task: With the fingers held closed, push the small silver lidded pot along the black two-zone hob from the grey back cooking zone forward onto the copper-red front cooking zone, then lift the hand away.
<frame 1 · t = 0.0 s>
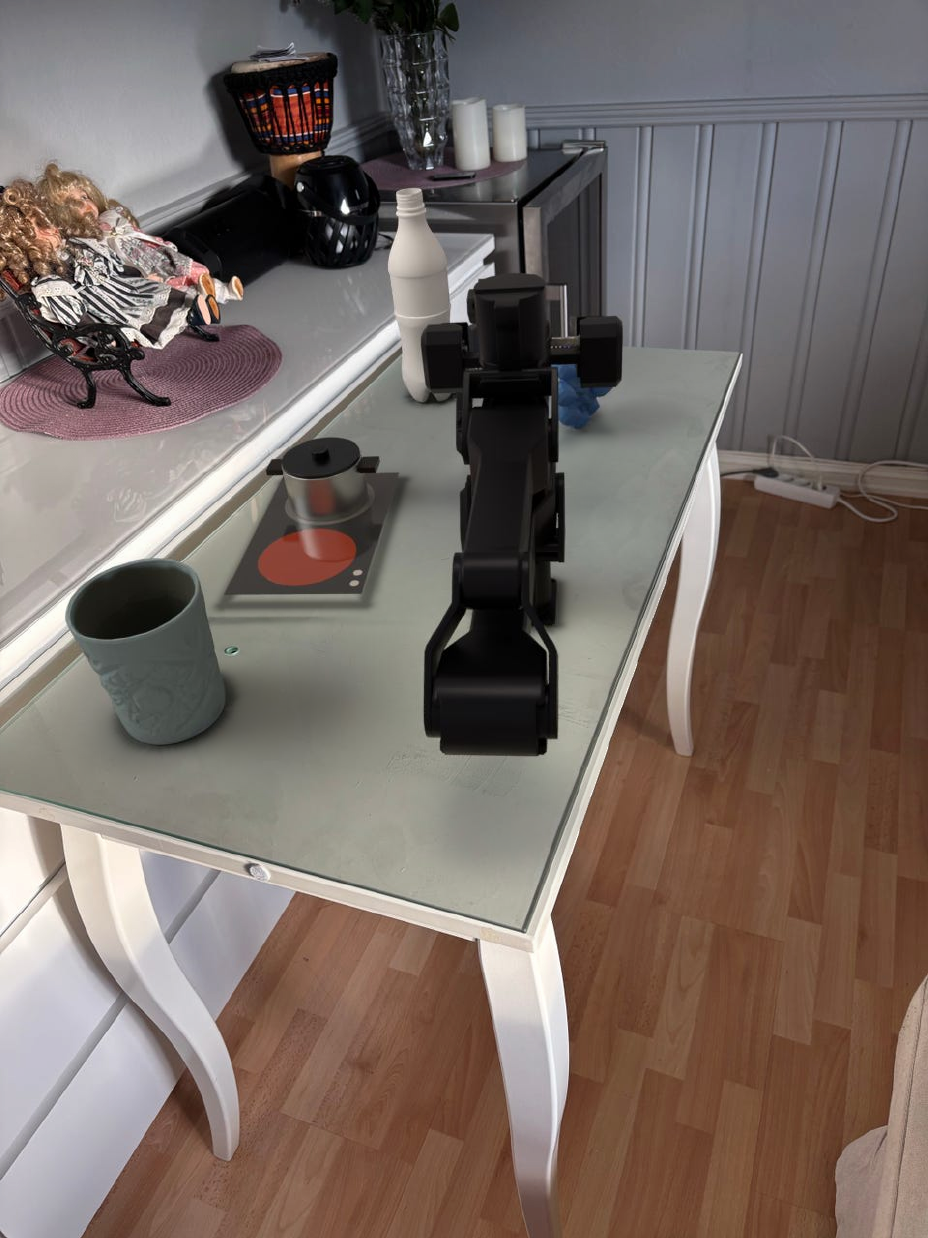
hand: (526, 322, 92), 17 cm above the table, tool horizontal, fingers open, 9 cm apart
grapes: (586, 430, 109), on the table
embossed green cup: (178, 711, 76), on the table
pot: (329, 500, 98), point 1 cm above the table, touching hob
hob: (320, 537, 95), on the table
water bottle: (432, 395, 120), on the table
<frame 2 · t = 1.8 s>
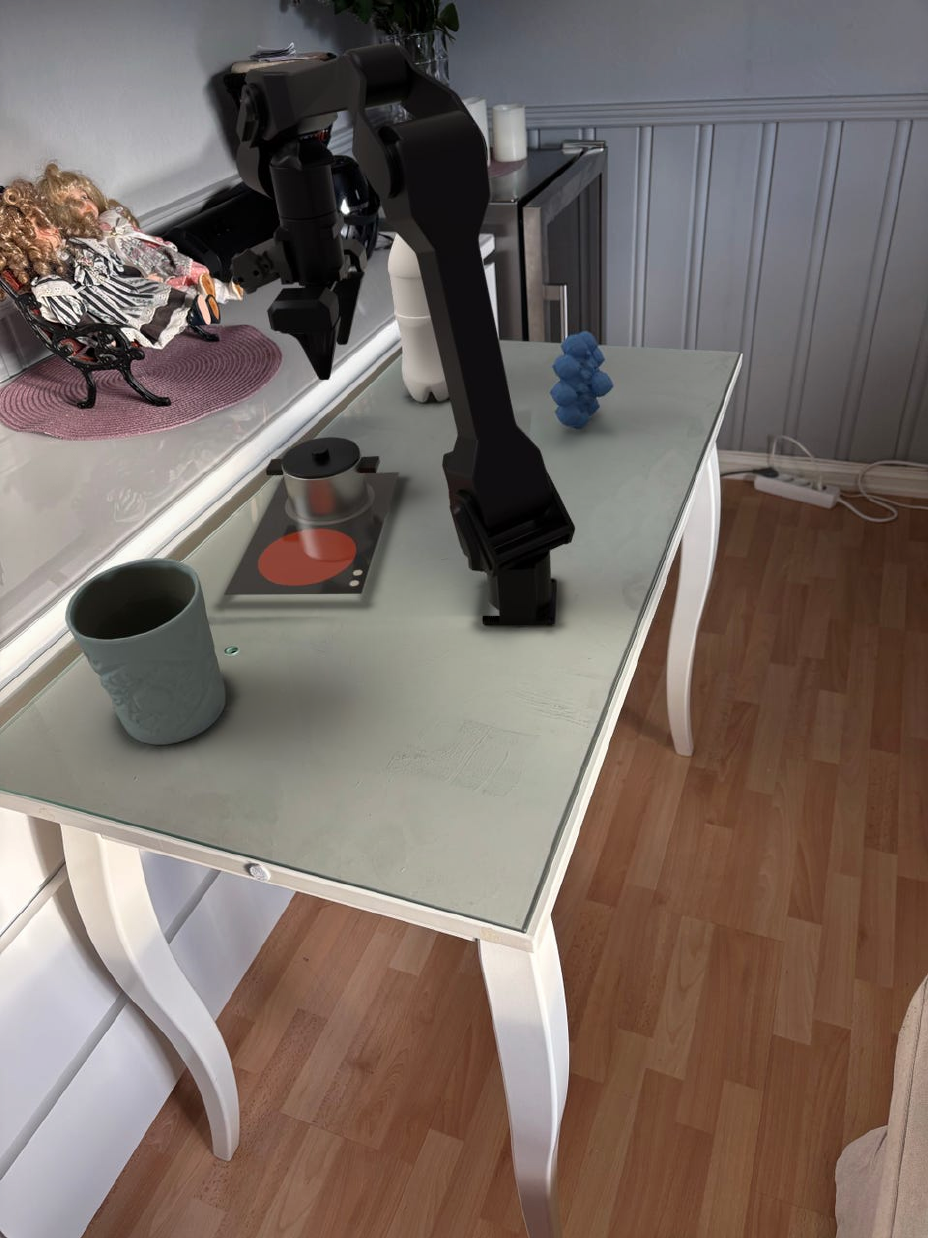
hand: (334, 361, 99), 13 cm above the table, tool pointing down, fingers open, 9 cm apart
nothing on the table moved.
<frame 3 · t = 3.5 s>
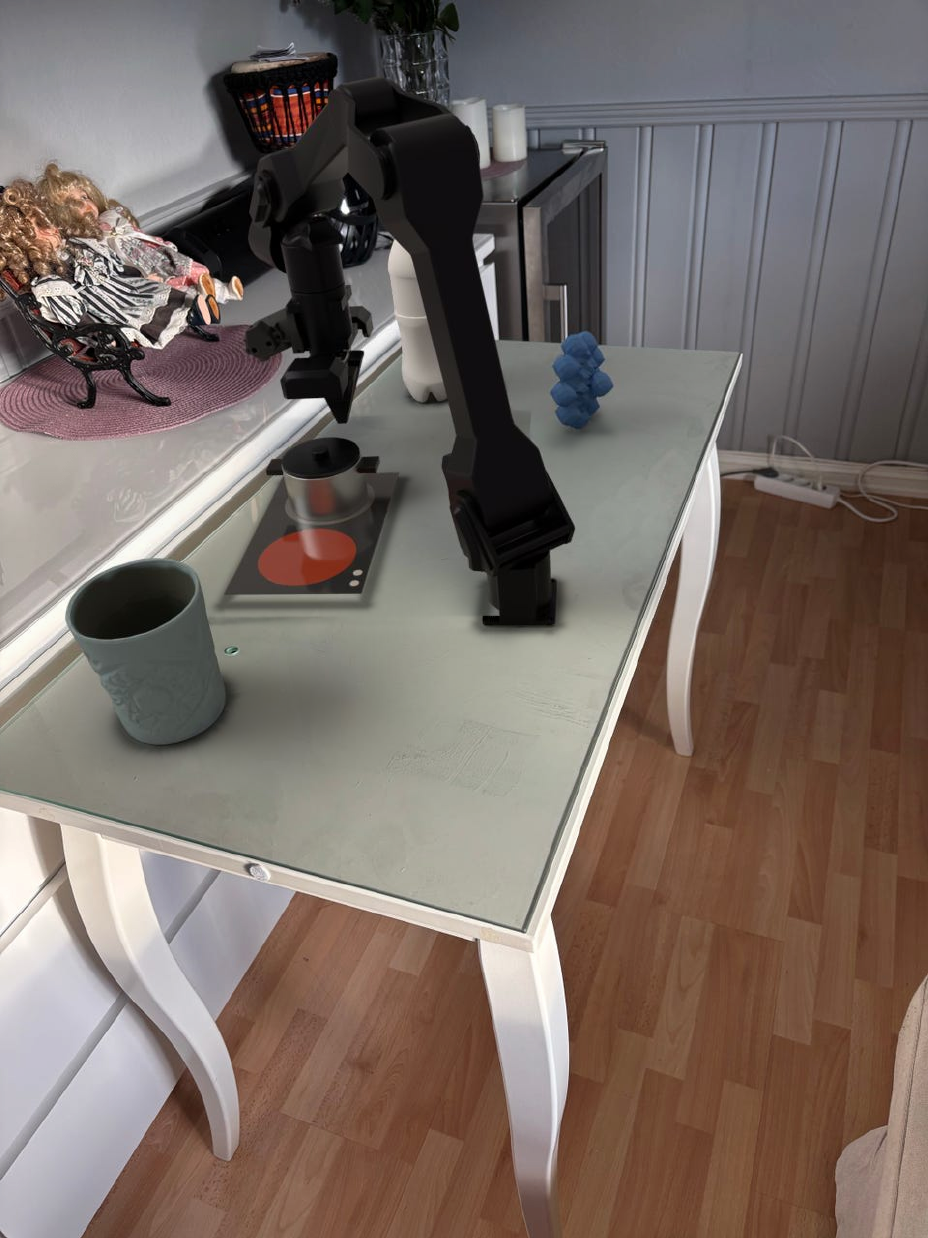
hand: (343, 422, 104), 5 cm above the table, tool pointing down, fingers closed
nothing on the table moved.
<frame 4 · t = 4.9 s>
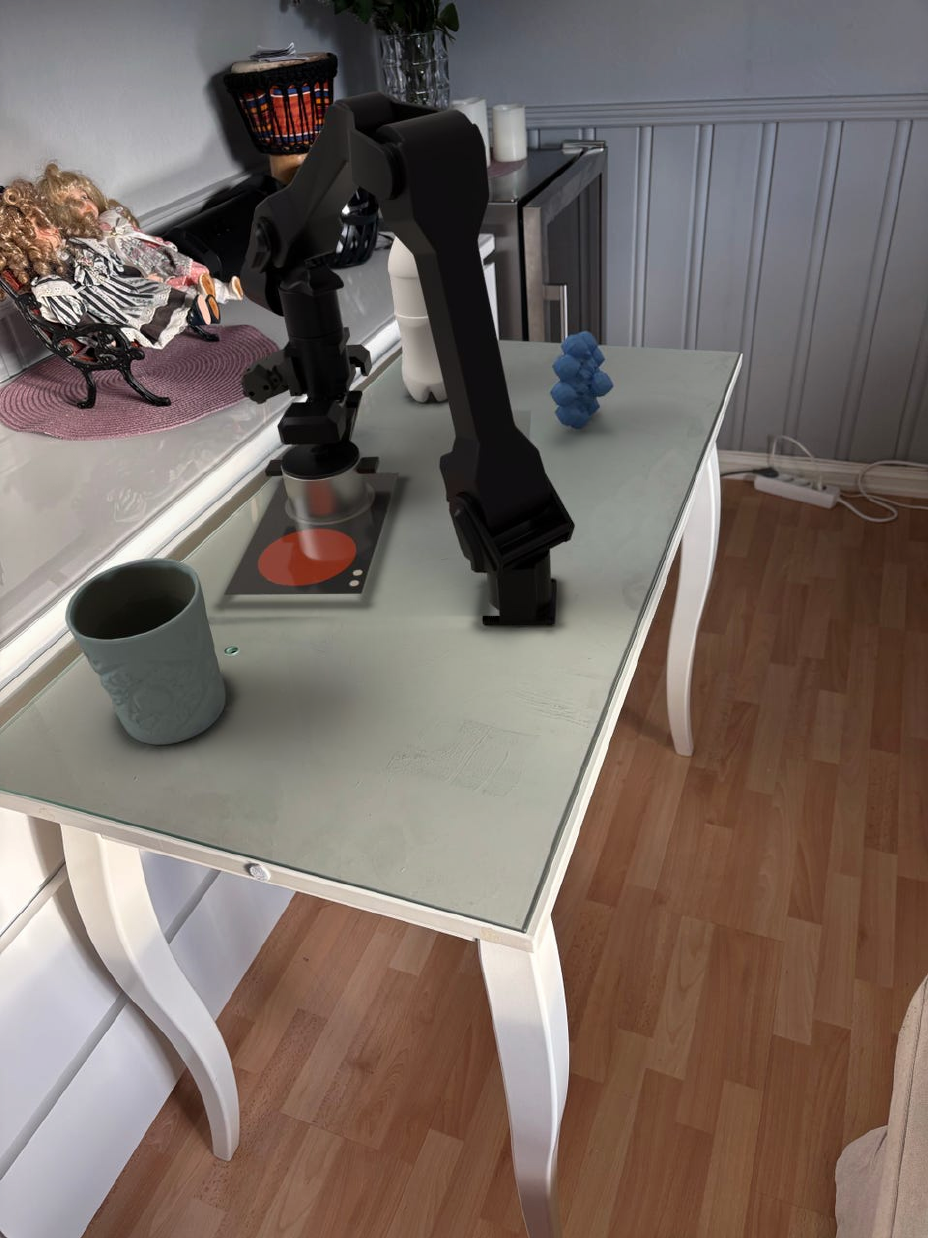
hand: (341, 462, 103), 2 cm above the table, tool pointing down, fingers closed
pot: (329, 500, 98), point 1 cm above the table, touching gripper, hob
everything else where it was.
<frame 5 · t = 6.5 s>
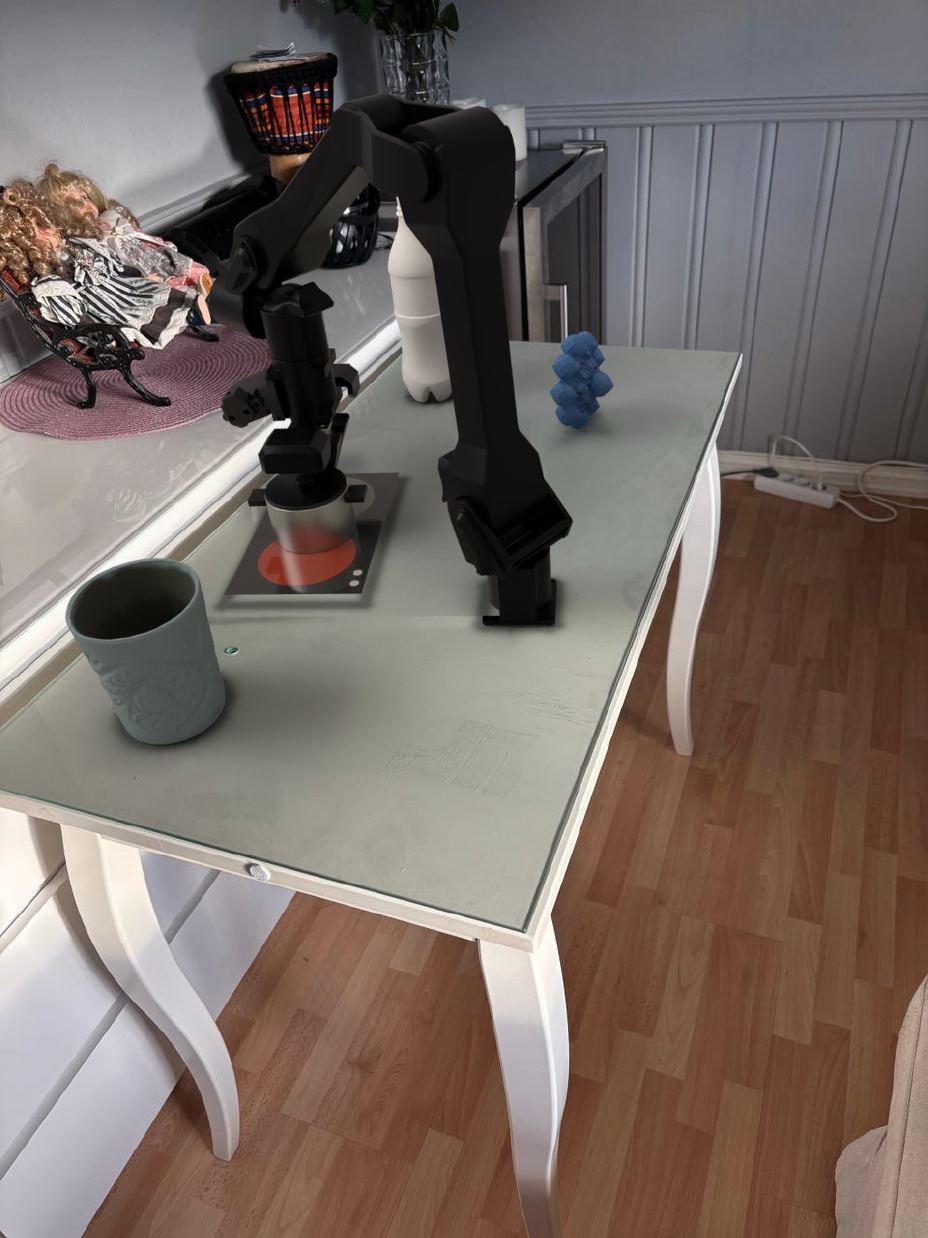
hand: (326, 487, 98), 2 cm above the table, tool pointing down, fingers closed
pot: (315, 530, 94), point 1 cm above the table, touching gripper, hob
everything else where it was.
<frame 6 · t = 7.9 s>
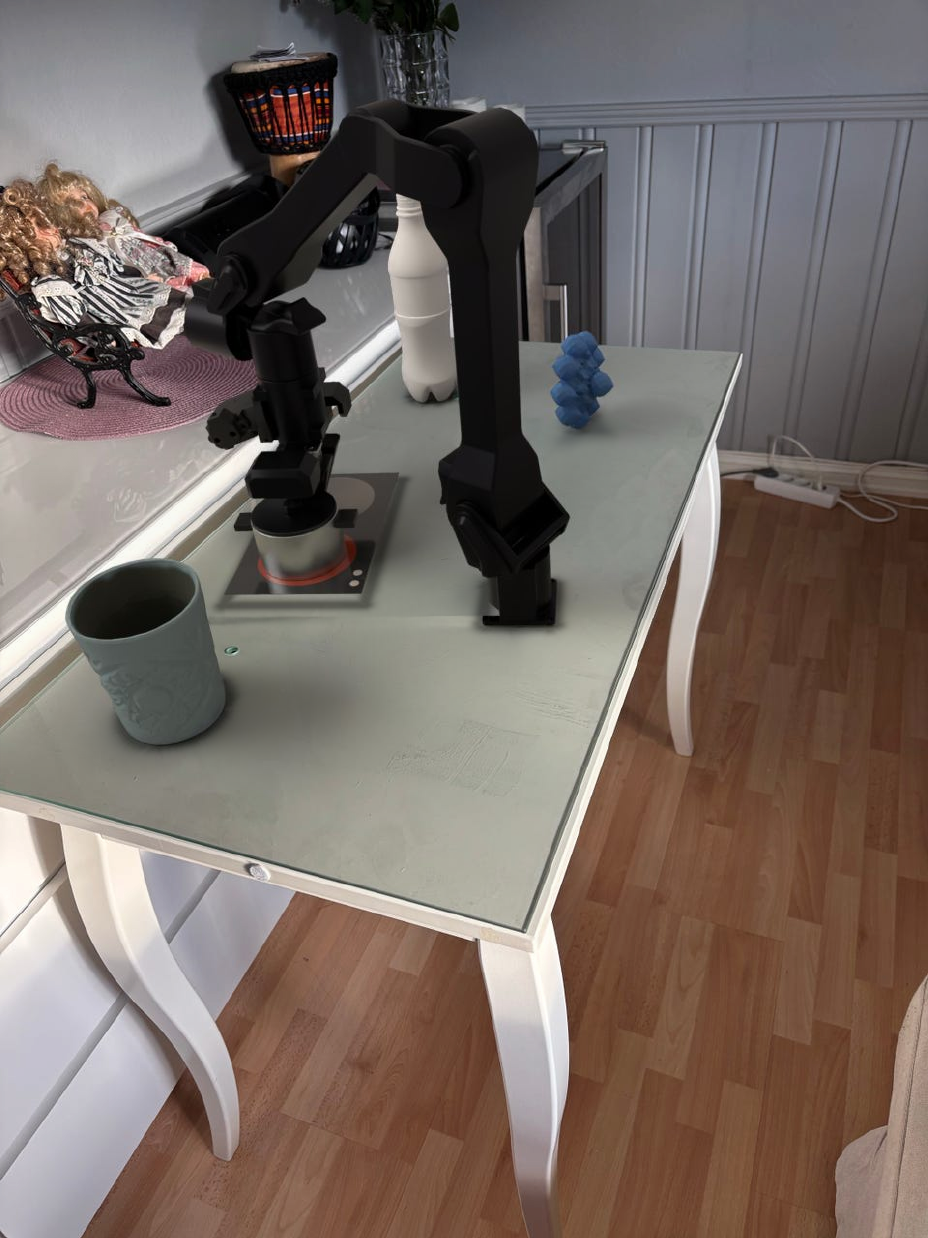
hand: (317, 509, 95), 2 cm above the table, tool pointing down, fingers closed
pot: (304, 555, 90), point 1 cm above the table, touching gripper, hob
everything else where it was.
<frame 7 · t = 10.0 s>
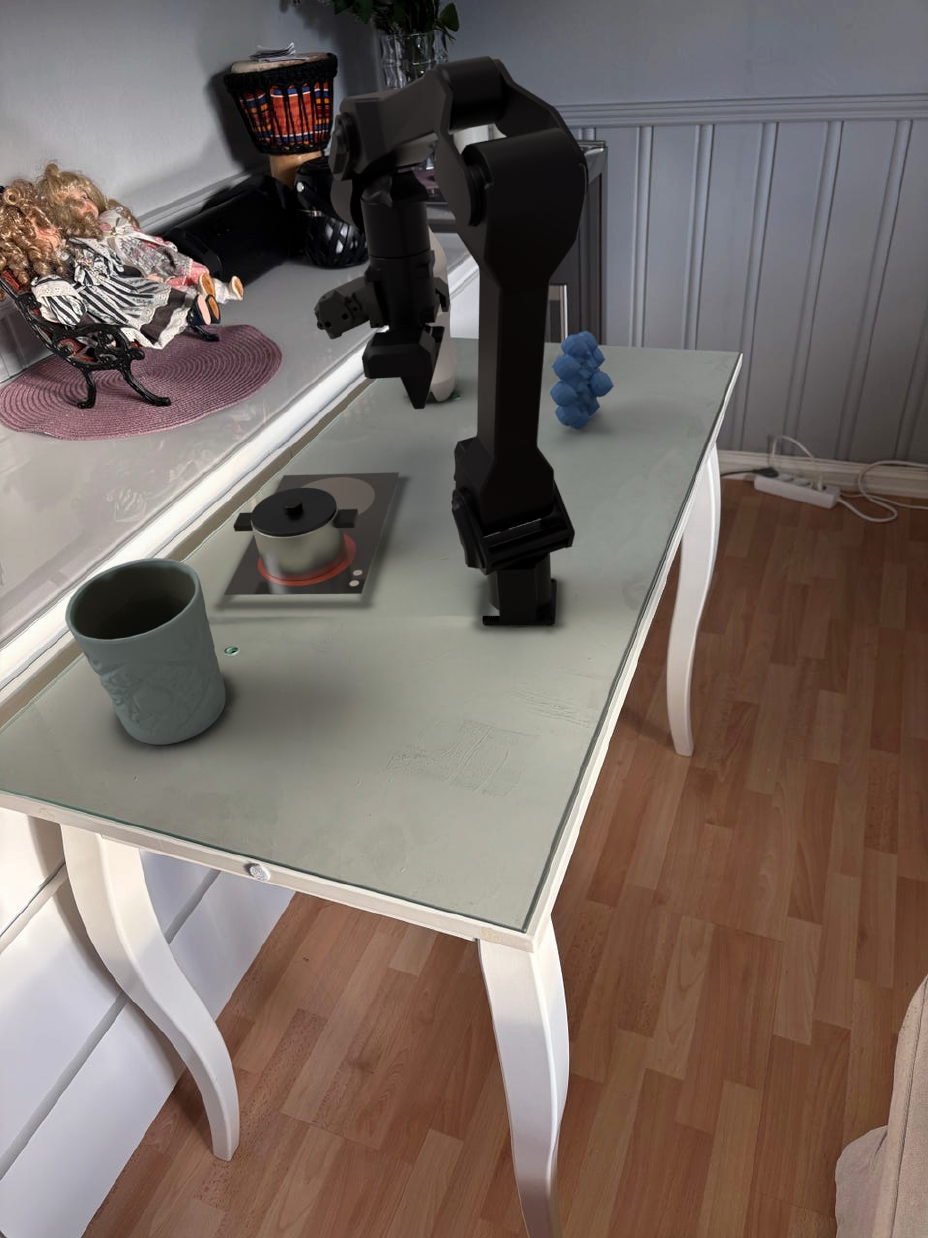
hand: (419, 407, 92), 11 cm above the table, tool pointing down, fingers closed
pot: (304, 555, 90), point 1 cm above the table, touching hob
everything else where it was.
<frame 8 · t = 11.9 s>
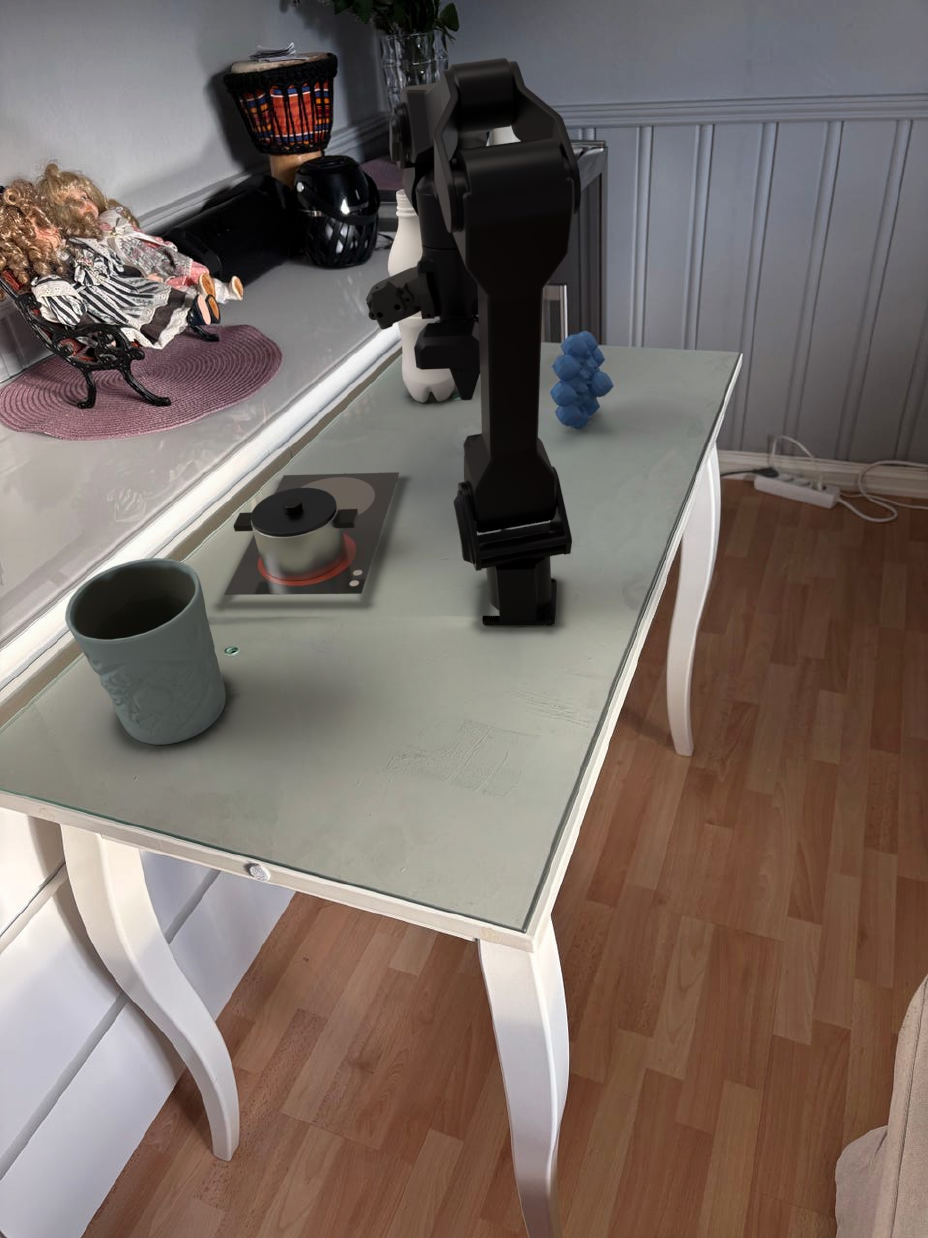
hand: (466, 398, 93), 11 cm above the table, tool pointing down, fingers closed
nothing on the table moved.
at the end: pot 0.3 cm from the target spot on the hob, point 1.2 cm above the hob's base; pot tilted 0° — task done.
